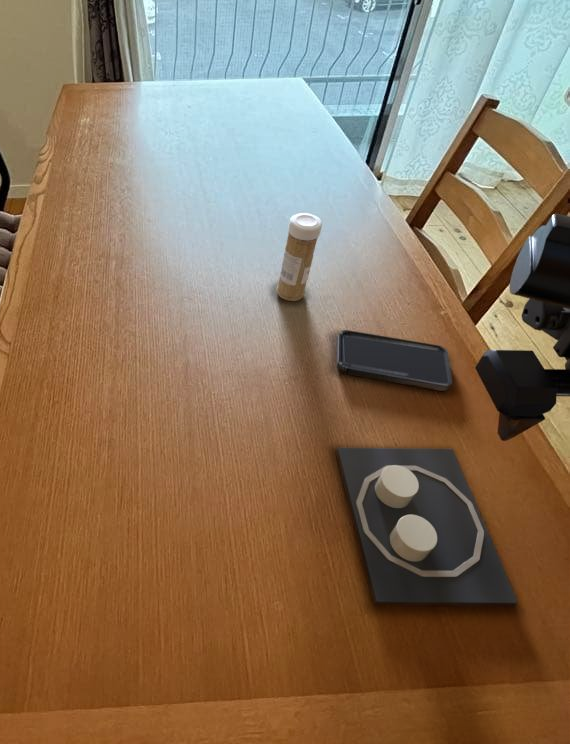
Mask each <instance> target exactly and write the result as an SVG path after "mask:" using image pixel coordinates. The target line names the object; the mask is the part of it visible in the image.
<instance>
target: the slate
mask: <svg viewBox="0 0 570 744" xmlns="http://www.w3.org/2000/svg"><path fill="white" fill-rule="evenodd" d="M335 455H336V458H337V462H338V466H339V467H338V468H339V471H340V475H341V478H342V482H343V487H344V490H345V494H346V499H347V502H348V506H349V510H350V515H351V518H352V522H353V527H354V530H355V534H356V537H357V544H358V547H359V551H360V555H361V559H362V562H363V566H364V571H365V574H366V575H365V576H366V579H367V583H368V586H369V591H370V595H371V599H372V602H373V606H403V607H405V606H407V607H408V606H409V607H411V606H413V607H502V608H503V607H508V608H509V607H515V606H517V605H518V604H519V602H518V600H517V599H518V598H517V597H516V594H515V592H514V590H513V587H512V585H511V583H510V580H509V578H508V575H507V573H506V571H505V569H504V566H503V564H502V561H501V558H500V557H499V554H498V552H497V549H496V548H495V545H494V542H493V541H492V538H491V535H490V533H489V531H488V529H487V527H486V524H485V521H484V519H483V517H482V514H481V512H480V510H479V508H478V505H477V502H476V501H475V498H474V496H473V493H472V491H471V489H470V487H469V484H468V482H467V479H466V477H465V475H464V472H463V470H462V468H461V465H460V463H459V461H458V460H459V459H458V458H457V455H456V453H455V451H454V449H453V448H408V447H407V448H405V447H404V448H398V447H397V448H396V447H395V448H393V447H390V448H389V447H337V449H336V450H335ZM392 465H398V466H402V467H405V468H407V469H408V470H410V471H411V472H412V473H413V474H414V475H415V476H416V478H417V480H418V483H419V489H418V491H417V493H416V494H415V496H414V497H413V499H412V500H411V502H410V503H409V504H408V505H407V506H406V507H403V508H393V507H390V506H388V505H386V504H384V503H383V502H382V501H381V500H380V499H379V498H378V496H377V494H376V492H375V484H376V482H377V480H378V479H379V477H380V475H381V473H382V471H383V470H384V469H385V468H386V467H388V466H392ZM406 515H417V516H420V517H422V518H424V519H425V520H427V521H428V522H429V523H430V524H431V525H432V526H433V528H434V529H435V531H436V534H437V544H436V546H435V547H434V548H433V550H432V551H431V552H430V553H429V554H428V556H427V557H426V558H425V559H423V560H421V561H417V562H414V561H409V560H406V559H404V558H402V557H401V556H399V555H398V554H397V553H396V552H395V551H394V549H393V548H392V546H391V543H390V533H391V531H392V530H393V528H394V527H395V525H396V524H397V522H398V521H399V519H400V518H402V517H403V516H406Z"/></svg>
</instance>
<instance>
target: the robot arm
mask: <svg viewBox="0 0 570 744" xmlns="http://www.w3.org/2000/svg"><path fill="white" fill-rule="evenodd" d="M509 293H510V294H511V295H514V296H517V297H522V298H526V299H528V300H527V301H526V302H525V304H524V306H523V310H522V312H521V320H522V322H523V323H524V324H526V325H528V326H529V327H531V328H532V329H533V330H535V331H539V332H541V331H542V332H543V333H545V334H546V335H548V336H550V337H552V338H553V339H554V340H556V343H555V344H554V345H553V347H552V350H554V352H555V354H556V355H557V356H558V357H559V358H564V359H565V360H566V362H565V363H564V368H563V369H562V368H556V369H554V368H544V365H543V364H542V362H541V361H540V359H539V358H538V357H537V355H536V353H535V352H534V350H529V349H528V350H526V349H525V350H523V349H486V351H485V352H484V353H483V354H482V355H481V357H480V359H479V360H478V361H477V363H476V365H475V367H474V369H475V370H476V373H477V374H478V377H479V379H480V380H481V382H482V384H483V386H484V388H485V390H486V392H487V394H488V395H489V397H490V399H491V401H492V403H493V405H494V407H495V410H496V411H497V412H499V415H498V425H497V435H498V436H499V438H500V441H502V442H506V441H508V440H511V439H513V438H515V437H517V436H519V435H521V434H522V433H524V432H526V431H527V430H528V431H529V429H531V428H533V427H534V426H536V425H538V424H540V423H542V422H543V421H545V420H546V416H545V415H544V414H546V413H549V412H551V410H552V409H553V408H554V407H555V406H556V405H557V397H567V398H569V397H570V215H565V214H561V213H554V214H552V215H551V216H550V218H549V219H548V221H547V223H546V224H545V225H541V226H540V227H538V228H537V229H536V230H535V231H534V232H533V234H532V235H529V236H527V238H526V240H525V242H524V243H523V245H522V247H521V249H520V251H519V253H518V256H517V258H516V261H515V263H514V266H513V269H512V272H511V276H510V281H509Z"/></svg>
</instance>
